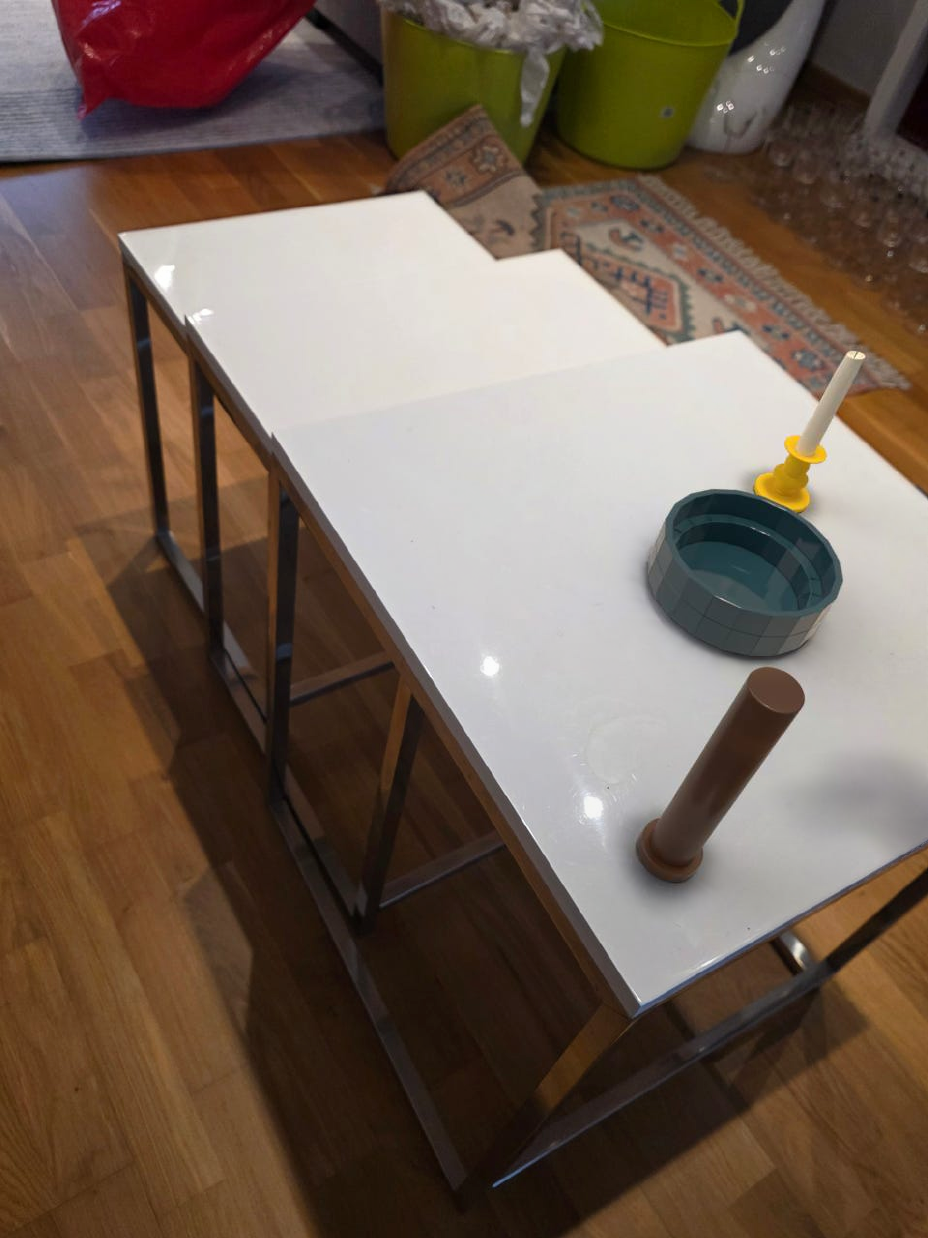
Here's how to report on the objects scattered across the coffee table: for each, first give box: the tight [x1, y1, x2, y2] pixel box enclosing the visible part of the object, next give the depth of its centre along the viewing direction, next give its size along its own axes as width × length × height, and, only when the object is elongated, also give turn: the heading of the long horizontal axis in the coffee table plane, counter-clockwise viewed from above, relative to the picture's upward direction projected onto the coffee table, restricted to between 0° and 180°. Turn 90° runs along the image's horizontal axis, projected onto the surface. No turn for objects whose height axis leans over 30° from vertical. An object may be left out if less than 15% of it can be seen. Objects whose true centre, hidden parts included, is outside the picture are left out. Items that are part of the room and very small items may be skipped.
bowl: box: [647, 488, 844, 657], centre depth 77 cm, size 14×14×5 cm
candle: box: [753, 348, 866, 514], centre depth 83 cm, size 5×5×16 cm
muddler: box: [636, 666, 806, 883], centre depth 55 cm, size 4×4×17 cm
